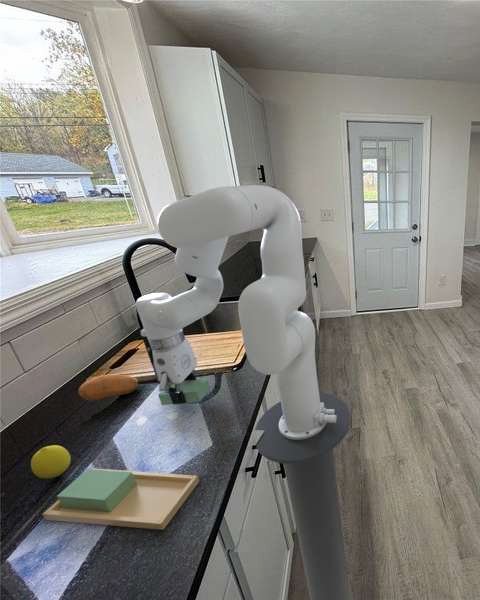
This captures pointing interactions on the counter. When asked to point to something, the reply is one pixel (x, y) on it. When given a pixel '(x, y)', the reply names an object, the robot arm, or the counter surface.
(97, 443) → the counter surface
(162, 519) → the tray
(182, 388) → the pad
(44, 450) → the lemon
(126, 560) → the counter surface
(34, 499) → the counter surface
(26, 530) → the counter surface
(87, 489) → the pad
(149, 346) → the spray can
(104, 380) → the potato
